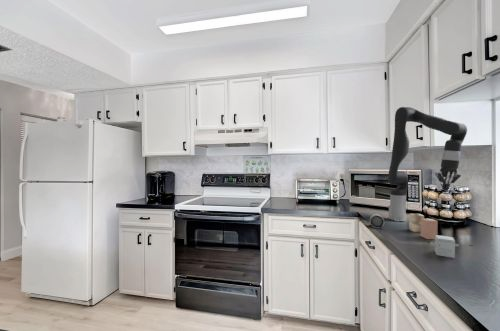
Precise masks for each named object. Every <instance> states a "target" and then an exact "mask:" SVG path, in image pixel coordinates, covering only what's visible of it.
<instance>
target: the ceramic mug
mask: <svg viewBox="0 0 500 331" xmlns="http://www.w3.org/2000/svg"><path fill="white" fill-rule="evenodd" d="M363 224H364V226H365V227H366V226H367V227H368V226H371V227H372V228H375V229H380V228H382V227H383V226H384V225H385V220H384V218H383V217H382V216H381V215H380V214H377V213H373V214H372V215H370V218H369V220H368V221H365V222H364V223H363Z"/></svg>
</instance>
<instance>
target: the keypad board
mask: <svg viewBox="0 0 500 331" xmlns="http://www.w3.org/2000/svg"><path fill="white" fill-rule="evenodd" d="M426 243H427V244H429V245H432V246H435V241H426ZM455 247H460V244H459V243H455Z"/></svg>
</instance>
